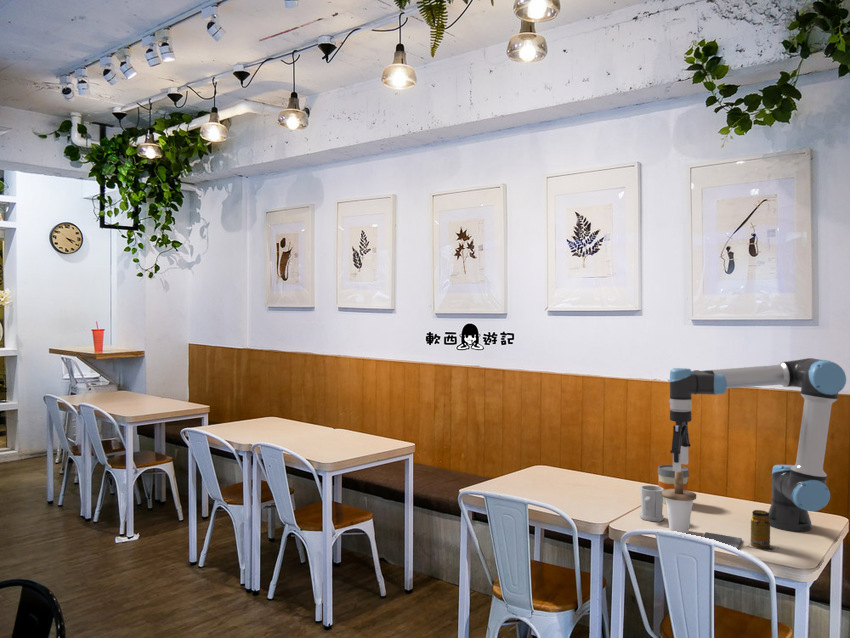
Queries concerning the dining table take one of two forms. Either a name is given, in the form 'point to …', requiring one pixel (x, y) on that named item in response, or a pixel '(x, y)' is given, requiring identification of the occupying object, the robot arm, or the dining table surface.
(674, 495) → the lid
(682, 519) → the foam cup
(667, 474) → the reusable coffee cup
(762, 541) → the condiment
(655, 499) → the cup
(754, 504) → the dining table surface
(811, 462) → the robot arm
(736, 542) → the mat
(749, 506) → the dining table surface
